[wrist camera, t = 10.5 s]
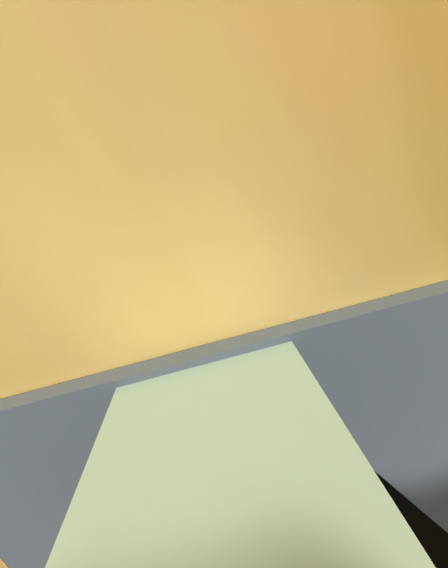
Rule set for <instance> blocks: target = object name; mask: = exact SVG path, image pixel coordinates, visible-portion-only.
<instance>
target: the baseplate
mask: <svg viewBox="0 0 448 568" xmlns="http://www.w3.org/2000/svg"><path fill="white" fill-rule="evenodd" d="M290 341H292V342H293V344H294V346H295V347H296V349H297V350H298V352H299V353H300V355H301V357H302V358H303V360H304V361H305V363H306V364H307V366H308V368H309V369H310V371H311V372H312V374H313V375H314V377H315V379H316V380H317V382H318V383H319V385H320V386H321V388H322V390H323V391H324V393H325V394H326V396H327V397H328V399H329V401H330V402H331V404H332V405H333V407H334V408H335V410H336V412H337V413H338V415H339V416H340V418H341V419H342V421H343V423H344V424H345V426H346V427H347V429H348V430H349V432H350V434H351V435H352V437H353V438H354V440H355V441H356V443H357V445H358V446H359V448H360V449H361V451H362V452H363V454H364V456H365V457H366V459H367V460H368V462H369V463H370V465H371V467H372V468H373V470H374V471H376V472H377V473H378V474H379V475H380V476H381V477H383V478H384V479H385V480H386V481H387V482H389V483H390V484H391V485H392V486H393V487H394V488H396V489H397V490H398V491H399V492H400V493H401V494H403V495H404V496H405V497H406V498H407V499H409V500H410V501H411V502H412V503H413V504H414V505H416V506H417V507H418V508H419V509H420V510H422V511H423V512H424V513H425V514H426V515H427V516H429V517H430V518H431V519H432V520H433V521H434V522H436V523H437V524H438V525H439V526H440V527H442V528H443V529H444V530H445V531H446V532H447V533H448V280H447V281H443V282H439V283H436V284H432V285H428V286H424V287H420V288H417V289H413V290H409V291H405V292H402V293H398V294H394V295H390V296H387V297H383V298H379V299H375V300H372V301H368V302H364V303H360V304H357V305H353V306H349V307H345V308H341V309H338V310H334V311H330V312H326V313H323V314H319V315H315V316H311V317H308V318H304V319H300V320H296V321H293V322H289V323H285V324H281V325H277V326H274V327H270V328H266V329H262V330H259V331H255V332H251V333H247V334H244V335H240V336H236V337H232V338H229V339H225V340H221V341H217V342H213V343H210V344H206V345H202V346H198V347H195V348H191V349H187V350H183V351H180V352H176V353H172V354H168V355H165V356H161V357H157V358H153V359H149V360H146V361H142V362H138V363H134V364H131V365H127V366H123V367H119V368H116V369H112V370H108V371H104V372H101V373H97V374H93V375H89V376H85V377H82V378H78V379H74V380H70V381H67V382H63V383H59V384H55V385H52V386H48V387H44V388H40V389H37V390H33V391H29V392H25V393H21V394H18V395H14V396H10V397H6V398H3V399H0V558H1V559H2V560H3V562H4V563H5V564H6V565H7V566H8V567H9V568H45V566H46V564H47V561H48V559H49V556H50V554H51V551H52V549H53V546H54V543H55V541H56V538H57V536H58V533H59V531H60V528H61V526H62V523H63V521H64V518H65V516H66V513H67V511H68V508H69V506H70V503H71V501H72V498H73V496H74V493H75V491H76V488H77V486H78V483H79V481H80V478H81V476H82V473H83V471H84V468H85V466H86V463H87V461H88V458H89V456H90V453H91V450H92V448H93V445H94V443H95V440H96V438H97V435H98V433H99V430H100V428H101V425H102V423H103V420H104V418H105V415H106V413H107V410H108V408H109V405H110V403H111V400H112V398H113V395H114V393H115V390H116V388H118V387H121V386H125V385H129V384H133V383H136V382H140V381H144V380H148V379H151V378H155V377H159V376H163V375H166V374H170V373H174V372H178V371H181V370H185V369H189V368H193V367H196V366H200V365H204V364H208V363H211V362H215V361H219V360H223V359H226V358H230V357H234V356H238V355H242V354H245V353H249V352H253V351H257V350H260V349H264V348H268V347H272V346H275V345H279V344H283V343H287V342H290Z"/></svg>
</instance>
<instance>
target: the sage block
mask: <svg viewBox="0 0 448 568" xmlns="http://www.w3.org/2000/svg"><path fill="white" fill-rule="evenodd" d="M45 568H436V567H435V566H434V564H433V562H432V561H431V559H430V558H429V556H428V555H427V553H426V551H425V550H424V548H423V547H422V545H421V544H420V542H419V540H418V539H417V537H416V536H415V534H414V533H413V531H412V529H411V528H410V526H409V525H408V523H407V522H406V520H405V518H404V517H403V515H402V514H401V512H400V511H399V509H398V507H397V506H396V504H395V503H394V501H393V500H392V498H391V496H390V495H389V493H388V492H387V490H386V489H385V487H384V485H383V484H382V482H381V481H380V479H379V478H378V476H377V474H376V473H375V471H374V470H373V468H372V467H371V465H370V463H369V462H368V460H367V459H366V457H365V456H364V454H363V452H362V451H361V449H360V448H359V446H358V445H357V443H356V441H355V440H354V438H353V437H352V435H351V434H350V432H349V430H348V429H347V427H346V426H345V424H344V423H343V421H342V419H341V418H340V416H339V415H338V413H337V412H336V410H335V408H334V407H333V405H332V404H331V402H330V401H329V399H328V397H327V396H326V394H325V393H324V391H323V390H322V388H321V386H320V385H319V383H318V382H317V380H316V379H315V377H314V375H313V374H312V372H311V371H310V369H309V368H308V366H307V364H306V363H305V361H304V360H303V358H302V357H301V355H300V353H299V352H298V350H297V349H296V347H295V346H294V344H293V342H292V341H290V342H287V343H283V344H279V345H275V346H272V347H268V348H264V349H260V350H257V351H253V352H249V353H245V354H242V355H238V356H234V357H230V358H226V359H223V360H219V361H215V362H211V363H208V364H204V365H200V366H196V367H193V368H189V369H185V370H181V371H178V372H174V373H170V374H166V375H163V376H159V377H155V378H151V379H148V380H144V381H140V382H136V383H133V384H129V385H125V386H121V387H118V388H116V390H115V393H114V395H113V398H112V400H111V403H110V405H109V408H108V410H107V413H106V415H105V418H104V420H103V423H102V425H101V428H100V430H99V433H98V435H97V438H96V440H95V443H94V445H93V448H92V450H91V453H90V456H89V458H88V461H87V463H86V466H85V468H84V471H83V473H82V476H81V478H80V481H79V483H78V486H77V488H76V491H75V493H74V496H73V498H72V501H71V503H70V506H69V508H68V511H67V513H66V516H65V518H64V521H63V523H62V526H61V528H60V531H59V533H58V536H57V538H56V541H55V543H54V546H53V549H52V551H51V554H50V556H49V559H48V561H47V564H46V566H45Z"/></svg>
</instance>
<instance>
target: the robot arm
mask: <svg viewBox="0 0 448 568" xmlns="http://www.w3.org/2000/svg"><path fill="white" fill-rule="evenodd" d="M375 473H376V474H377V476H378V478H379V479H380V481H381V482H382V484H383V485H384V487H385V489H386V490H387V492H388V493H389V495H390V496H391V498H392V500H393V501H394V503H395V504H396V506H397V507H398V509H399V511H400V512H401V514H402V515H403V517H404V518H405V520H406V522H407V523H408V525H409V526H410V528H411V529H412V531H413V533H414V534H415V536H416V537H417V539H418V540H419V542H420V544H421V545H422V547H423V548H424V550H425V551H426V553H427V555H428V556H429V558H430V559H431V561H432V562H433V564H434V566H435V567H436V568H448V533H447V532H446V531H445V530H444V529H443V528H442V527H440V526H439V525H438V524H437V523H436V522H434V521H433V520H432V519H431V518H430V517H429V516H427V515H426V514H425V513H424V512H423V511H422V510H420V509H419V508H418V507H417V506H416V505H414V504H413V503H412V502H411V501H410V500H409V499H407V498H406V497H405V496H404V495H403V494H401V493H400V492H399V491H398V490H397V489H396V488H394V487H393V486H392V485H391V484H390V483H389V482H387V481H386V480H385V479H384V478H383V477H381V476H380V475H379V474H378V473H377V472H376V471H375Z"/></svg>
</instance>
